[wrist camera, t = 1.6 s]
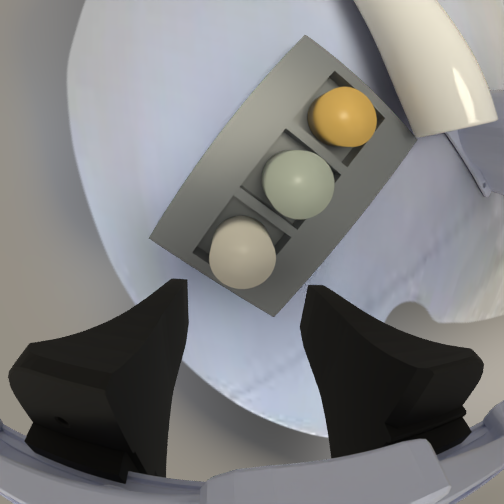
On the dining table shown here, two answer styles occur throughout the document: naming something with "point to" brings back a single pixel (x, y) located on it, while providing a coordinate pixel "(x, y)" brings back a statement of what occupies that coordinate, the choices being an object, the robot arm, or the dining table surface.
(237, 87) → the dining table surface
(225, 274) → the button cream
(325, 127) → the button amber
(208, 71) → the dining table surface
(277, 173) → the button grey
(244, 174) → the panel
